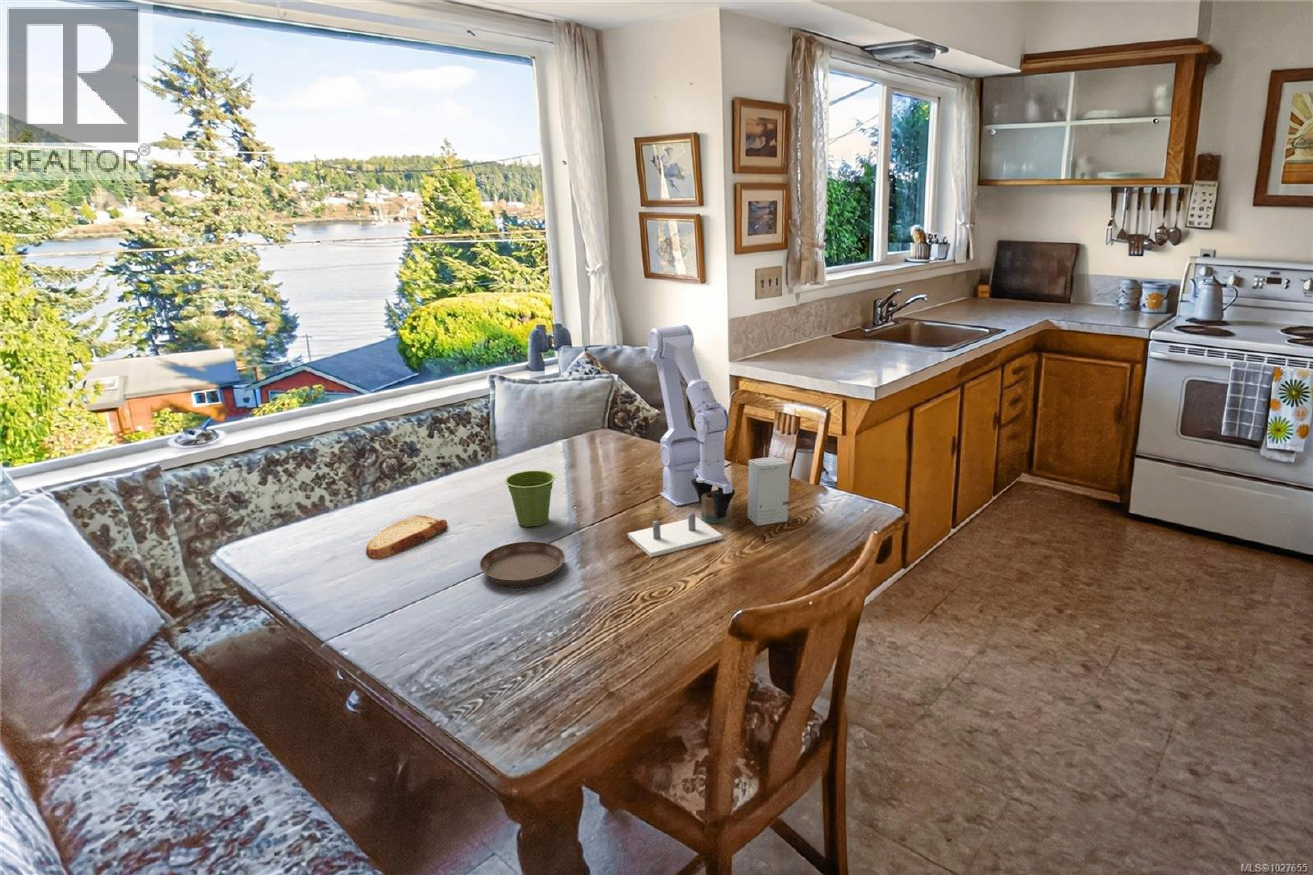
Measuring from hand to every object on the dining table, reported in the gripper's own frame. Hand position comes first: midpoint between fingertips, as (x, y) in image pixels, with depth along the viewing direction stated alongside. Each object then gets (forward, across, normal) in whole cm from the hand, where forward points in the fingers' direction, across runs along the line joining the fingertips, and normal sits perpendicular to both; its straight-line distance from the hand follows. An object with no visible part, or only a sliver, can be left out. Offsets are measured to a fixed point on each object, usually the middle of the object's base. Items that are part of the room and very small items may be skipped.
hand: (713, 512), depth 186 cm
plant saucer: (+2, +3, -48) cm, 48 cm away
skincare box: (+2, +7, +11) cm, 13 cm away
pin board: (+2, +5, -13) cm, 14 cm away
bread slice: (+2, -27, -67) cm, 72 cm away
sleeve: (+2, 0, 0) cm, 2 cm away
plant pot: (+2, -21, -38) cm, 44 cm away
